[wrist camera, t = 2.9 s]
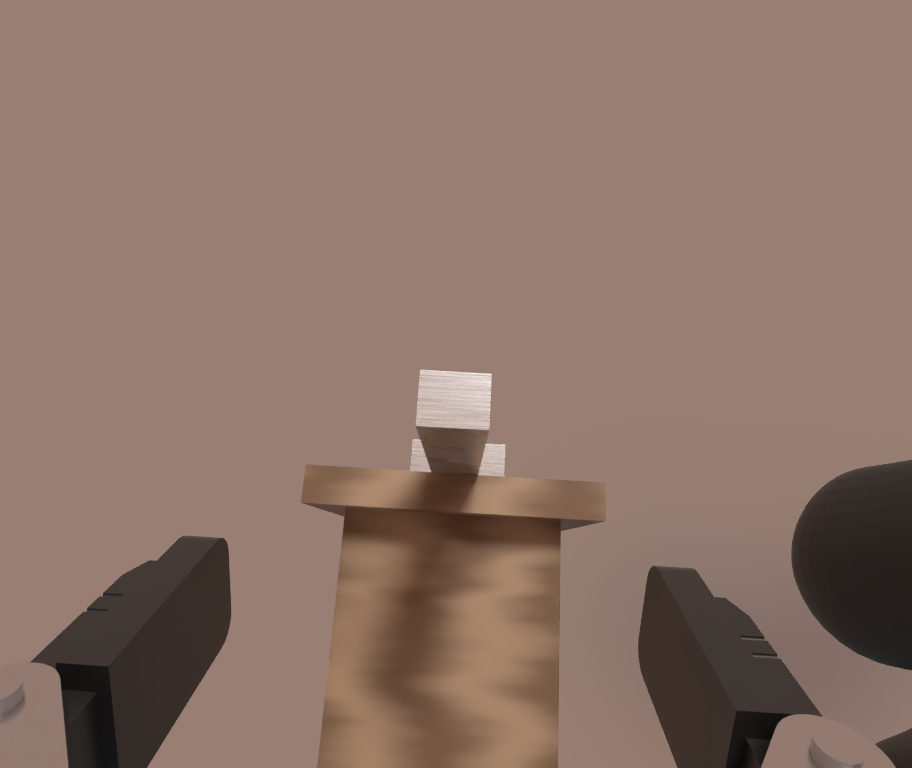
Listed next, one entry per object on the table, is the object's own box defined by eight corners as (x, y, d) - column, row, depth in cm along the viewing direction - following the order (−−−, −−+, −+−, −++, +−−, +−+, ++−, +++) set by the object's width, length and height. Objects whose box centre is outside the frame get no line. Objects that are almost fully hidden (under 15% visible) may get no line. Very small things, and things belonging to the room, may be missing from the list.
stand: (541, 969, 42) (549, 509, 51) (612, 1320, 23) (604, 482, 32) (317, 952, 42) (363, 498, 51) (199, 1284, 23) (306, 464, 32)
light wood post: (497, 505, 50) (499, 458, 52) (555, 433, 20) (557, 323, 21) (415, 500, 51) (418, 454, 52) (349, 422, 20) (362, 313, 21)
